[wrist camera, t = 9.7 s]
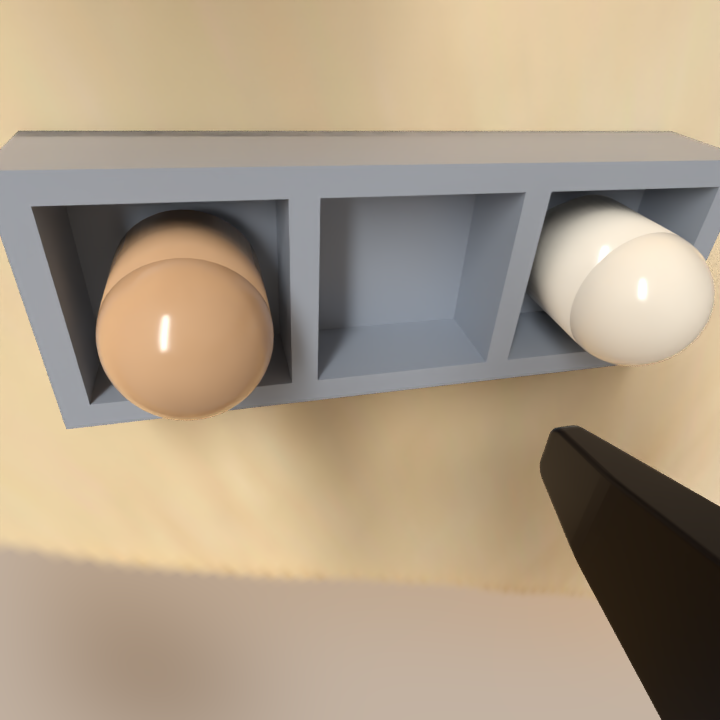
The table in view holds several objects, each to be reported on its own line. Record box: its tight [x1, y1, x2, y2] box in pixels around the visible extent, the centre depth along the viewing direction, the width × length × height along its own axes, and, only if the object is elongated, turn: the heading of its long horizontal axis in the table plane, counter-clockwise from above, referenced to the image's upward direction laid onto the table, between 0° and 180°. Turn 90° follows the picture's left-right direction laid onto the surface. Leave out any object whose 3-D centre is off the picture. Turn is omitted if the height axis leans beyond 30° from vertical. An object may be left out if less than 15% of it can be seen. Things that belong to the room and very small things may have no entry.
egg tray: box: [0, 131, 720, 429], centre depth 17 cm, size 21×7×4 cm, turn 87°
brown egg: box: [96, 209, 274, 420], centre depth 14 cm, size 4×4×6 cm
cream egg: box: [525, 195, 715, 366], centre depth 17 cm, size 4×4×6 cm
